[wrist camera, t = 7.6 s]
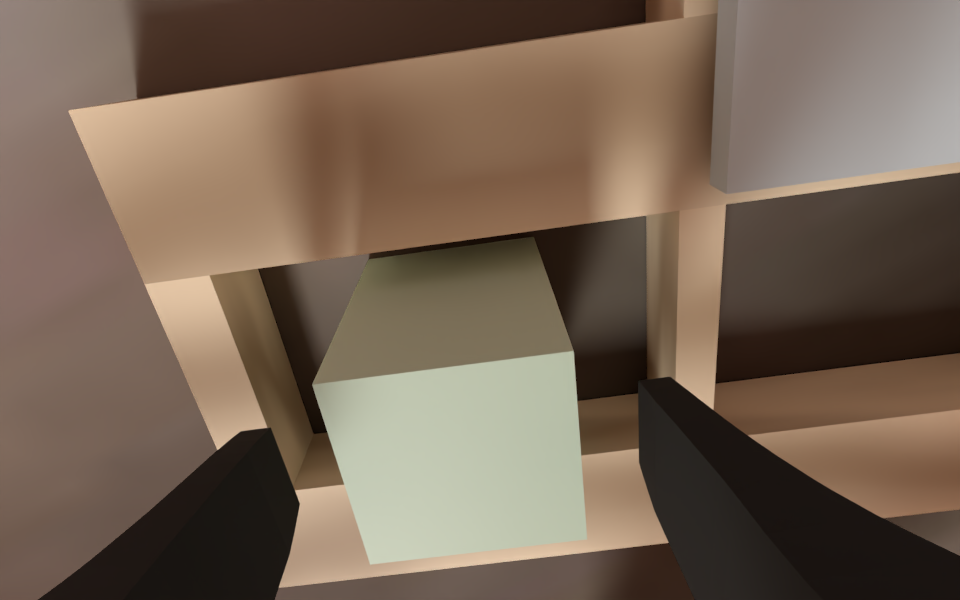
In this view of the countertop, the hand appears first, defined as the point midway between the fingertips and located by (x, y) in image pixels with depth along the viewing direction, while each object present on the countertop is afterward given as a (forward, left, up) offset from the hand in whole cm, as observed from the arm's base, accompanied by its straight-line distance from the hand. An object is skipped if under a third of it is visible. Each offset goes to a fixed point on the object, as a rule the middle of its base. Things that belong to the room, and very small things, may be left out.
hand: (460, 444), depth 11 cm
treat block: (0, 0, -5) cm, 5 cm away
